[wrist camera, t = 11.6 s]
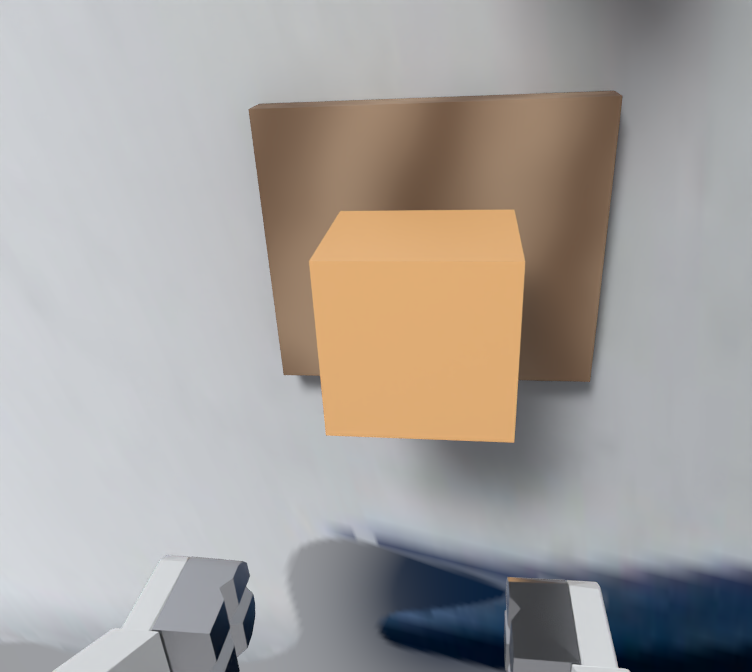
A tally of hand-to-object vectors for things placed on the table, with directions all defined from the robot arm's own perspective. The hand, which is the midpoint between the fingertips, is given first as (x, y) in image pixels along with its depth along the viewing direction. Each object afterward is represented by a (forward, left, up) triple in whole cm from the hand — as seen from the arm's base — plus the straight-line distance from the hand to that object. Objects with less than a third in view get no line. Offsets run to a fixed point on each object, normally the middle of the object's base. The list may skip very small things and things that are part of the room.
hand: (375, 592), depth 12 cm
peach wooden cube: (0, 0, -14) cm, 14 cm away
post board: (0, 0, -19) cm, 19 cm away
